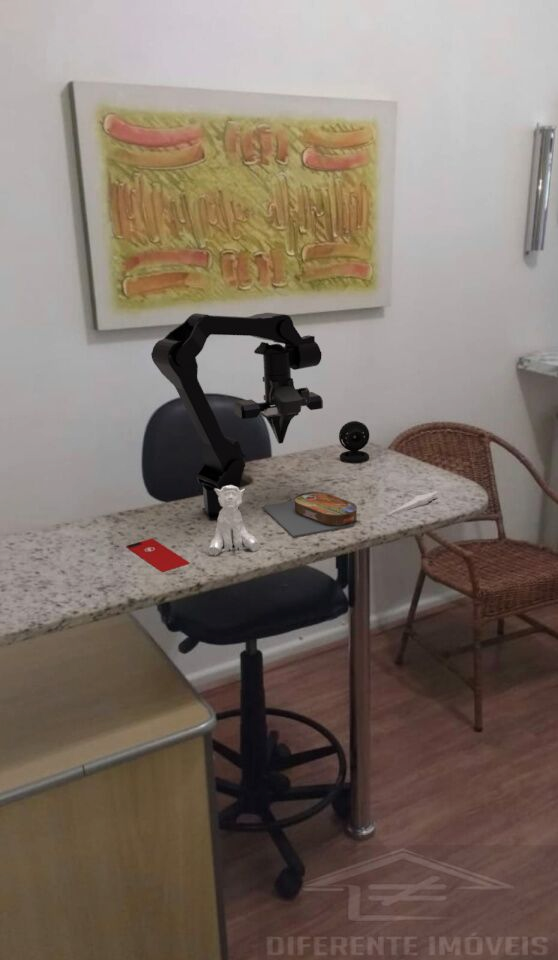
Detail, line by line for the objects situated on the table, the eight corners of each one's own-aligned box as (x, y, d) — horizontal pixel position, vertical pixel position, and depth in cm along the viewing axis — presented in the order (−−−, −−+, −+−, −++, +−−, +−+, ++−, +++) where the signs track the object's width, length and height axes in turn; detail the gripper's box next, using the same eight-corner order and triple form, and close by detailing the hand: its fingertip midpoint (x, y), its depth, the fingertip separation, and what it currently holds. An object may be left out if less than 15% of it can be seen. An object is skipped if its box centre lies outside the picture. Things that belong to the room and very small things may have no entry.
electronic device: (190, 565, 136) (152, 540, 148) (190, 562, 136) (152, 537, 148) (162, 574, 133) (125, 548, 145) (162, 571, 133) (125, 545, 144)
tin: (365, 507, 151) (335, 515, 146) (364, 522, 152) (334, 530, 147) (316, 488, 162) (286, 495, 157) (315, 502, 163) (285, 509, 158)
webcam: (341, 464, 188) (341, 425, 185) (337, 455, 195) (336, 418, 192) (372, 462, 188) (372, 424, 185) (366, 453, 195) (366, 416, 192)
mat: (293, 537, 145) (293, 535, 145) (262, 507, 161) (262, 506, 161) (353, 526, 150) (353, 524, 149) (317, 498, 166) (317, 496, 165)
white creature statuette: (209, 557, 138) (204, 496, 134) (204, 539, 146) (199, 481, 142) (259, 551, 140) (256, 491, 136) (252, 534, 148) (248, 476, 144)
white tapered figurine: (432, 495, 164) (432, 488, 163) (441, 499, 162) (442, 491, 161) (384, 516, 156) (384, 508, 155) (393, 520, 154) (393, 512, 153)
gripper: (248, 384, 150) (252, 458, 155) (332, 374, 156) (334, 446, 161) (231, 375, 160) (235, 445, 165) (311, 366, 166) (313, 434, 171)
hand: (280, 443), depth 165 cm, fingers closed
